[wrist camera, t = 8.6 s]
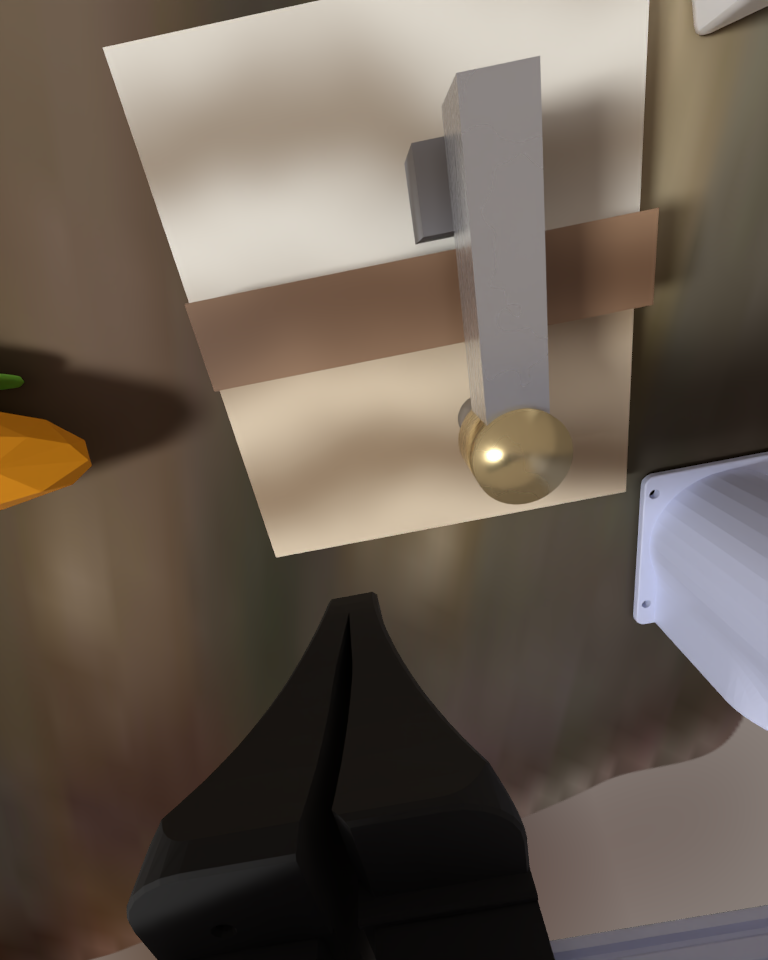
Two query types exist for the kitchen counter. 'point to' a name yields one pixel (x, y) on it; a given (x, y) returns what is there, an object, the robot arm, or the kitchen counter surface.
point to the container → (722, 13)
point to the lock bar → (503, 280)
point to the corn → (36, 455)
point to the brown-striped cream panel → (388, 242)
